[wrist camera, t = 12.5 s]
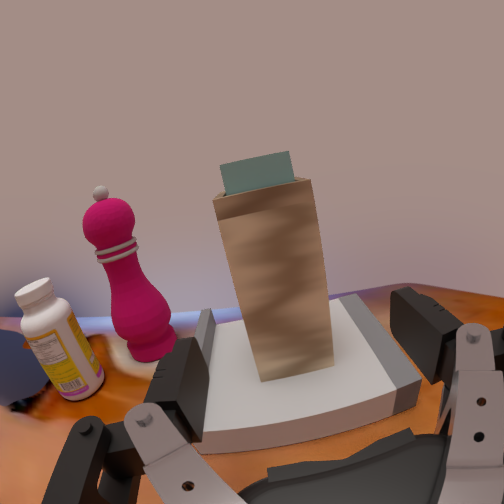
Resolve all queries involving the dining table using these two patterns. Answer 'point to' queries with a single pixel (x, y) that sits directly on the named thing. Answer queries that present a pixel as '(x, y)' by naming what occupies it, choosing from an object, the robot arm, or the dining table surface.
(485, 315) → the dining table surface
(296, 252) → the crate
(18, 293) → the supplement bottle
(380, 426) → the dining table surface
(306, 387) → the dock
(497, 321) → the dining table surface
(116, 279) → the pepper mill
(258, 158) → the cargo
